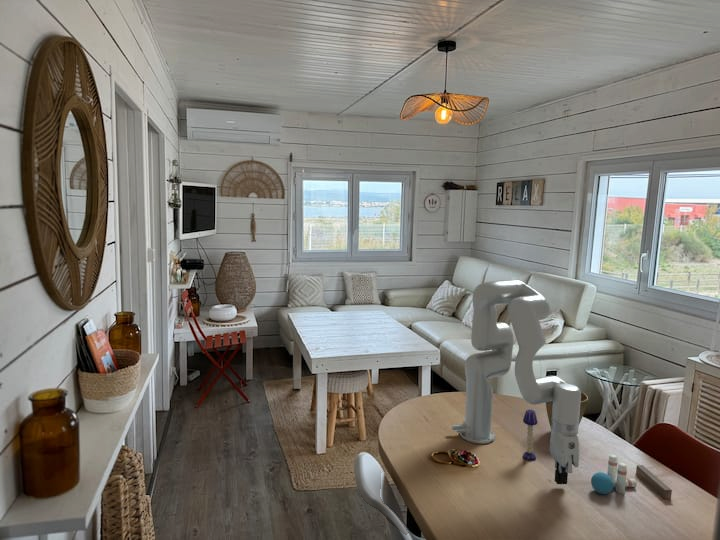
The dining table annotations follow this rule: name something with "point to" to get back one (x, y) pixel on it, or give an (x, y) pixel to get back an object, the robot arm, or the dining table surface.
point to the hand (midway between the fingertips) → (560, 482)
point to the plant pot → (582, 408)
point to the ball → (602, 483)
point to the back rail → (654, 482)
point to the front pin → (628, 482)
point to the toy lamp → (530, 433)
